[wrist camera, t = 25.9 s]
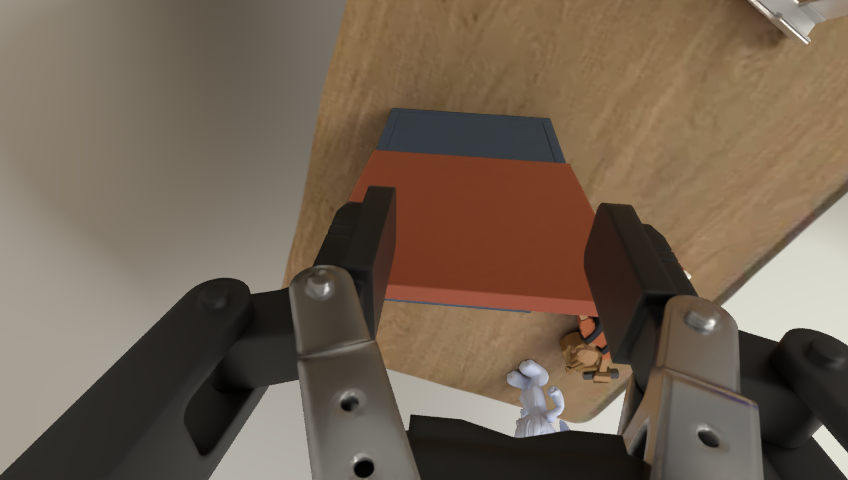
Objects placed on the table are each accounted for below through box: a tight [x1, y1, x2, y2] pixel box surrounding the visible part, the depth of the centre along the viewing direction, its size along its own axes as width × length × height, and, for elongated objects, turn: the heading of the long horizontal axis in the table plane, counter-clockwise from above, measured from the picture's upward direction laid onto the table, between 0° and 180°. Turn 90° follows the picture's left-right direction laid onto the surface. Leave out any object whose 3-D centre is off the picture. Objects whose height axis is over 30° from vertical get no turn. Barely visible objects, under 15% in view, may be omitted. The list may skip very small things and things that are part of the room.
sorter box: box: [376, 108, 566, 313], centre depth 40 cm, size 15×14×9 cm
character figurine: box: [559, 261, 691, 383], centre depth 49 cm, size 12×5×18 cm
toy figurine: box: [507, 360, 570, 438], centre depth 54 cm, size 7×6×12 cm
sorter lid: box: [347, 150, 598, 317], centre depth 25 cm, size 15×14×1 cm
